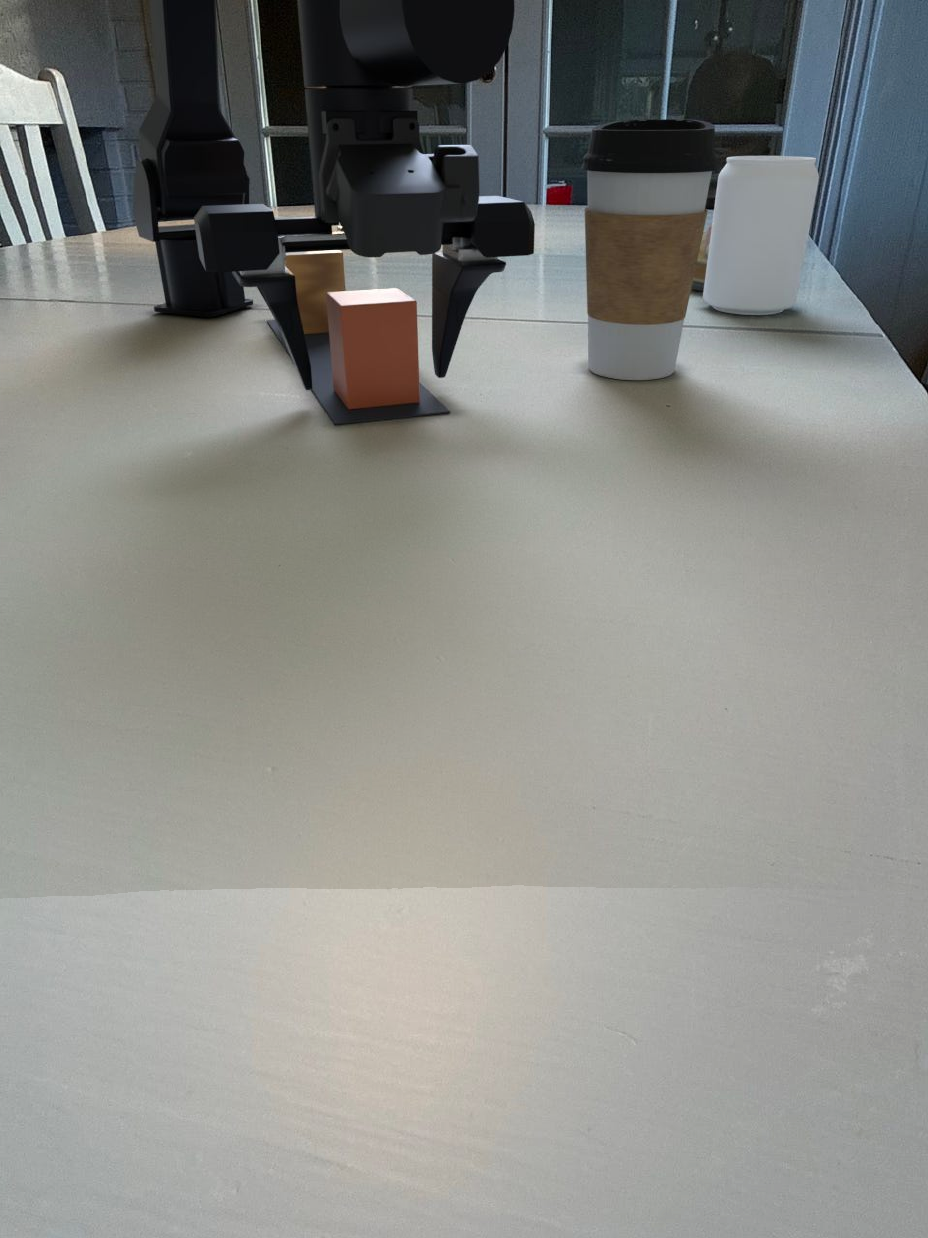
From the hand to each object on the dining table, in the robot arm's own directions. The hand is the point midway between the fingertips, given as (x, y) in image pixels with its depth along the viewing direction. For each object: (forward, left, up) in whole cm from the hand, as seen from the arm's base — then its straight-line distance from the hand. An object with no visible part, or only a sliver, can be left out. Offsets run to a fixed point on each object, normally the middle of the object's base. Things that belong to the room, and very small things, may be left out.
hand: (375, 382), depth 54 cm
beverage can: (+17, +38, -1) cm, 42 cm away
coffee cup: (+13, +13, -1) cm, 18 cm away
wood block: (-14, +15, -1) cm, 21 cm away
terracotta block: (0, 0, -1) cm, 1 cm away
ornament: (+13, +47, -1) cm, 49 cm away
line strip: (-7, +8, -1) cm, 11 cm away
